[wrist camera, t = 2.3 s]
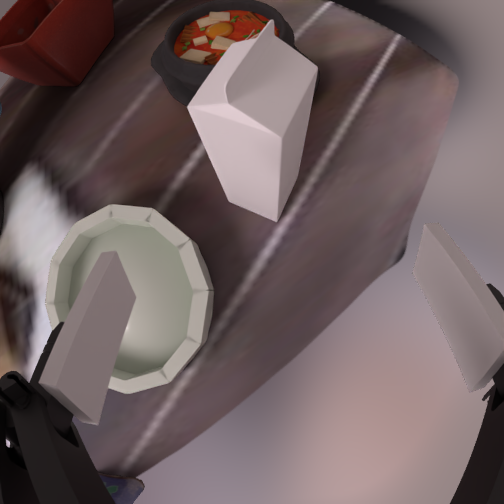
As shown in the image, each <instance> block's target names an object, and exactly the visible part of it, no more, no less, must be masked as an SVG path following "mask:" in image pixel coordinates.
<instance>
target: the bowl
mask: <svg viewBox="0 0 504 504" xmlns="http://www.w3.org/2000/svg"><path fill="white" fill-rule="evenodd" d="M108 251H117V253H118V256H119V258H120V261H121V263H122V265H123V268H124V270H125V272H126V275H127V277H128V279H129V282H130V284H131V286H132V288H133V291H134V293H135V295H136V300H135V303H134V306H133V309H132V312H131V315H130V318H129V321H128V324H127V327H126V330H125V333H124V336H123V339H122V342H121V345H120V348H119V352H118V355H117V358H116V361H115V365H114V368H113V372H112V375H111V378H110V382H109V386H108V388H110V389H113V390H116V391H119V392H122V393H125V394H127V393H128V394H130V393H134V392H138V391H141V390H145V389H149V388H152V387H156V386H160V385H163V384H167V383H169V382H171V381H172V380H173V379H175V378H176V377H177V376H178V375H179V374H180V373H181V372H182V371H183V369H184V368H185V367H186V366H187V364H188V363H189V362H190V361H191V360H192V359H193V358H194V357H195V356H196V354H197V353H198V351H199V350H200V349H201V347H202V346H203V345H204V344H205V342H206V340H207V338H208V331H209V328H210V325H211V320H212V315H213V304H214V303H213V297H214V291H213V290H214V288H213V285H212V282H211V278H210V274H209V271H208V268H207V266H206V263H205V261H204V259H203V257H202V255H201V253H200V250H199V247H198V245H197V243H195V242H194V241H193V240H192V239H190V238H189V237H188V236H187V235H186V234H184V233H183V232H182V231H181V230H180V229H178V228H177V227H176V226H175V225H173V224H172V223H171V222H170V221H169V220H167V219H166V218H165V217H164V216H163V215H161V214H160V213H159V212H157V211H156V210H155V209H153V208H146V207H136V206H126V205H115V204H112V205H111V204H110V205H108V206H106V207H104V208H103V209H101V210H99V211H97V212H95V213H93V214H91V215H89V216H87V217H86V218H84V219H82V220H80V221H78V222H76V223H75V224H74V225H73V226H72V228H71V229H70V231H69V232H68V234H67V235H66V237H65V238H64V240H63V241H62V243H61V245H60V246H59V248H58V249H57V251H56V252H55V254H54V256H53V257H52V260H51V263H50V270H49V276H48V283H47V291H46V300H45V303H47V304H45V305H46V309H47V313H48V317H49V320H50V324H51V327H52V331H53V330H54V328H55V327H56V326H57V325H58V324H59V323H60V322H65V320H66V318H67V316H68V314H69V312H70V310H71V308H72V306H73V304H74V302H75V300H76V298H77V296H78V294H79V292H80V291H81V289H82V287H83V285H84V283H85V281H86V279H87V277H88V276H89V274H90V272H91V270H92V268H93V267H94V265H95V263H96V261H97V259H98V258H99V256H100V254H101V253H102V252H108Z"/></svg>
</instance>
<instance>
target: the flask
mask: <svg viewBox="0 0 504 504" xmlns="http://www.w3.org/2000/svg"><path fill="white" fill-rule="evenodd" d="M98 474H99V476H100V477H101V479H102V481H103V483H104V485H105V486H106V488H107V490H108V492H109V493H110V495H111V497H112V498H113V500H114V502H115V503H116V504H133V503H134V501H135V500H136V499H137V497H138V496H139V495H140V493H141V492H142V491H143V490H144V487H145V486H144V484H143V482H142V480H139V479H137V478H135V477H130V476H129V477H123V476H118V475H112V476H109V475H108V474H106V475H104V474H101V473H98Z"/></svg>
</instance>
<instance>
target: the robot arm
mask: <svg viewBox="0 0 504 504" xmlns="http://www.w3.org/2000/svg"><path fill="white" fill-rule="evenodd" d="M1 111H2V106H1V103H0V115H1ZM3 212H4V206H3V197H2V194H1V191H0V233H1V228H2V223H3ZM412 274H413V275H414V277H415V279H416V281H417V283H418V284H419V286H420V288H421V290H422V292H423V293H424V295H425V297H426V299H427V301H428V303H429V305H430V307H431V309H432V311H433V313H434V314H435V317H436V319H437V321H438V323H439V325H440V326H441V329H442V330H443V333H444V335H445V337H446V339H447V341H448V343H449V345H450V348H451V350H452V352H453V354H454V356H455V359H456V361H457V363H458V366H459V368H460V370H461V372H462V375H463V377H464V380H465V382H466V385H467V387H468V389H469V392H473V391H476V390H478V389H481V388H483V387H485V386H486V385H487V383H489V381H490V380H491V379H492V378H493V380H494V383H495V384H494V385H493V386H492V388H491V389H490V390H489V391H488V392H487V393H486V394H485V395H484V397H483V399H482V400H483V401H485V399H487V397H488V396H489V395H490V397H489V400H488V405H487V408H486V412H485V415H484V419H483V422H482V425H481V429H480V432H479V435H478V438H477V441H476V443H475V446H474V449H473V452H472V454H471V457H470V460H469V462H468V465H467V467H466V470H465V472H464V474H463V477H462V479H461V481H460V484H459V486H458V488H457V490H456V492H455V494H454V496H453V499H452V500H451V503H450V504H504V297H503V296H502V294H501V293H500V292H499V291H498V290H497V289H496V288H495V287H494V286H493V285H491V284H485V282H484V281H483V279H482V278H481V277H480V275H479V274H478V273H477V271H476V270H475V268H474V267H473V266H472V264H471V263H470V261H469V260H468V259H467V257H466V256H465V255H464V254H463V252H462V251H461V250H460V248H459V247H458V246H457V245H456V243H455V242H454V241H453V240H452V238H451V237H450V236H449V235H448V233H447V232H446V231H445V230H444V229H443V228H442V226H441V225H440V224H439V223H428V224H424V229H423V233H422V237H421V242H420V245H419V250H418V253H417V258H416V261H415V265H414V269H413V272H412ZM135 300H136V295H135V293H134V291H133V288H132V286H131V284H130V282H129V279H128V277H127V275H126V272H125V270H124V268H123V265H122V263H121V261H120V258H119V256H118V253H117V251H108V252H102V253H101V254H100V256H99V258H98V259H97V261H96V263H95V265H94V267H93V268H92V270H91V272H90V274H89V276H88V277H87V279H86V281H85V283H84V285H83V287H82V289H81V291H80V292H79V294H78V296H77V298H76V300H75V302H74V304H73V306H72V308H71V310H70V312H69V314H68V316H67V318H66V320H65V322H60V323H59V324H58V325H57V326H56V327H55V328H54V330H53V331H52V332H51V334H50V337H49V339H48V341H47V344H46V345H45V347H44V350H43V353H42V354H41V356H40V359H39V361H38V363H37V366H36V368H35V370H34V373H33V375H32V378H31V380H30V383H28V382H27V381H26V380H25V379H24V378H23V377H22V376H21V374H19V373H18V372H17V371H10V372H8V373H6V374H5V375H3V376H2V377H1V379H0V504H116V503H115V502H114V500H113V498H112V497H111V495H110V493H109V492H108V490H107V488H106V486H105V485H104V483H103V481H102V479H101V477H100V476H99V474H98V472H97V470H96V468H95V466H94V464H93V462H92V460H91V458H90V456H89V454H88V452H87V450H86V448H85V446H84V444H83V442H82V440H81V437H80V435H79V433H78V431H77V428H76V426H75V425H74V423H73V422H72V418H73V415H74V416H75V417H76V418H78V419H79V420H80V421H81V422H85V423H90V424H95V425H98V424H99V420H100V416H101V412H102V408H103V404H104V400H105V397H106V393H107V389H108V386H109V382H110V378H111V375H112V372H113V368H114V365H115V361H116V358H117V355H118V352H119V348H120V345H121V342H122V339H123V336H124V333H125V330H126V327H127V324H128V321H129V318H130V315H131V312H132V309H133V306H134V303H135ZM6 439H7V440H8V441H10V448H9V447H7V446H6Z"/></svg>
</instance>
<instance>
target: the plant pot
mask: <svg viewBox="0 0 504 504" xmlns="http://www.w3.org/2000/svg"><path fill="white" fill-rule="evenodd" d="M113 37H114V9H113V0H18V1H17V2H16V3H15V4H14V5H13V6H12V7H11V8H10V9H9V11H8V12H7V13H6V14H5V15H4V16H3V17H2V19H1V20H0V71H1V72H3V73H5V74H8V75H10V76H13V77H15V78H18V79H21V80H24V81H27V82H30V83H33V84H36V85H39V86H77V85H79V84H80V83H81V82H82V80H83V79H84V77H85V76H86V74H87V73H88V72H89V70H90V69H91V67H92V66H93V64H94V63H95V61H96V60H97V59H98V57H99V56H100V55H101V53H102V52H103V50H104V49H105V48H106V46H107V45H108V44H109V42H110V41H111V40H112V39H113Z"/></svg>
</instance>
